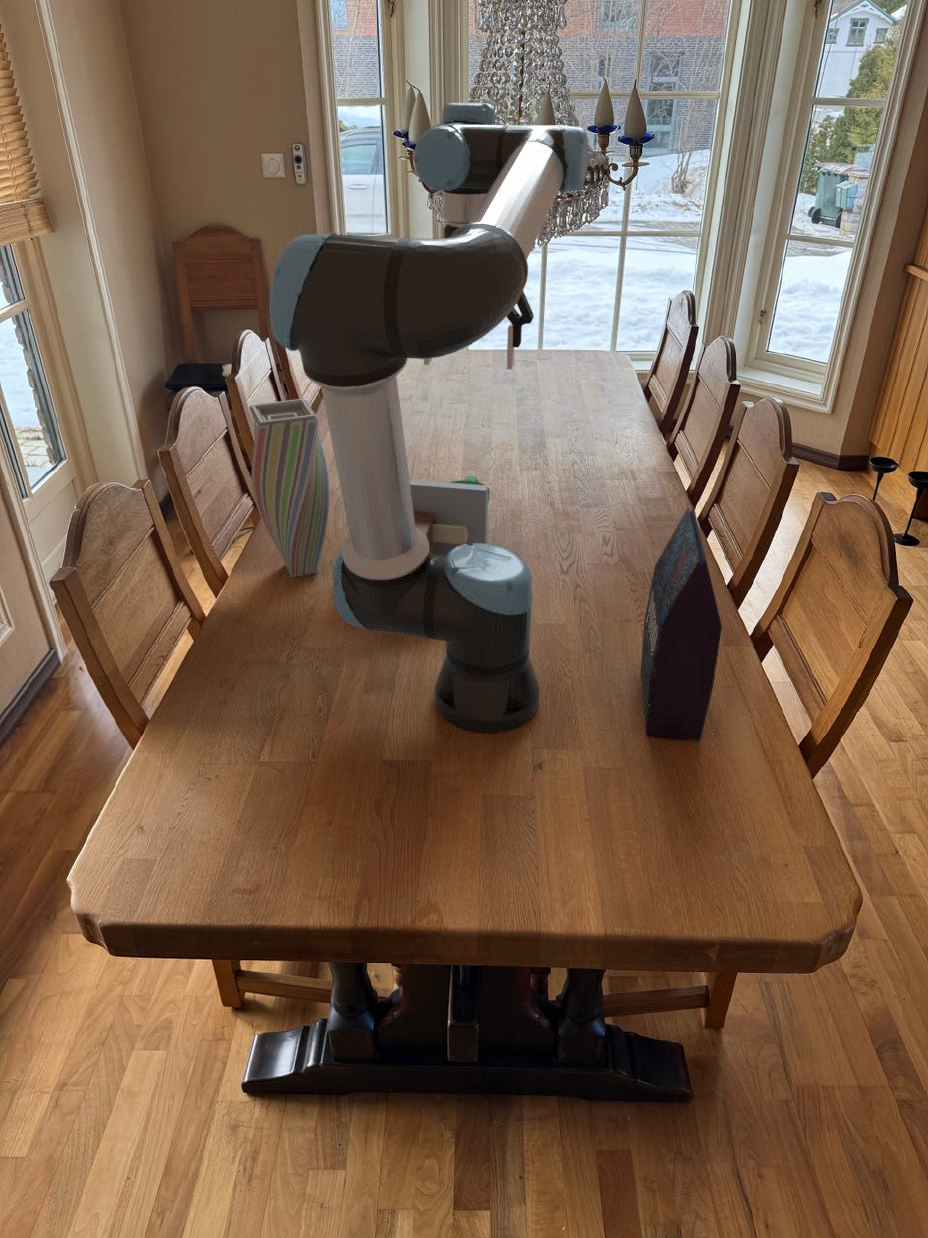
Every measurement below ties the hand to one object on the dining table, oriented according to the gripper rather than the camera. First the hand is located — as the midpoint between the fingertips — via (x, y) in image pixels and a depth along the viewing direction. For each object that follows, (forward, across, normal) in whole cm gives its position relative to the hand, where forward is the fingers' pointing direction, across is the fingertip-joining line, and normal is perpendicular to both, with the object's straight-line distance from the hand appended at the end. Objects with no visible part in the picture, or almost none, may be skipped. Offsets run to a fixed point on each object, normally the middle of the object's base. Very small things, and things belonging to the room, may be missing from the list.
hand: (468, 364), depth 142 cm
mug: (+37, +3, -12) cm, 39 cm away
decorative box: (+37, -36, +36) cm, 63 cm away
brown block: (+33, +8, +11) cm, 36 cm away
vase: (+37, +30, +8) cm, 48 cm away
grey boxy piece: (+37, +8, +4) cm, 38 cm away
